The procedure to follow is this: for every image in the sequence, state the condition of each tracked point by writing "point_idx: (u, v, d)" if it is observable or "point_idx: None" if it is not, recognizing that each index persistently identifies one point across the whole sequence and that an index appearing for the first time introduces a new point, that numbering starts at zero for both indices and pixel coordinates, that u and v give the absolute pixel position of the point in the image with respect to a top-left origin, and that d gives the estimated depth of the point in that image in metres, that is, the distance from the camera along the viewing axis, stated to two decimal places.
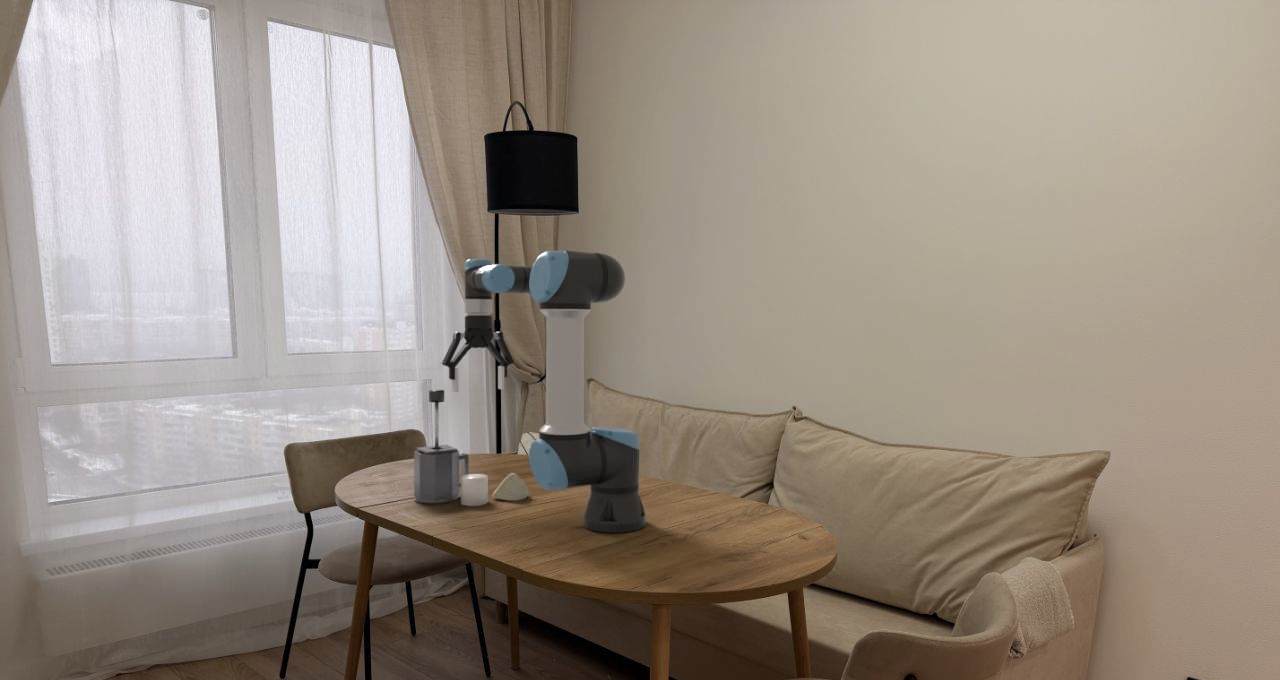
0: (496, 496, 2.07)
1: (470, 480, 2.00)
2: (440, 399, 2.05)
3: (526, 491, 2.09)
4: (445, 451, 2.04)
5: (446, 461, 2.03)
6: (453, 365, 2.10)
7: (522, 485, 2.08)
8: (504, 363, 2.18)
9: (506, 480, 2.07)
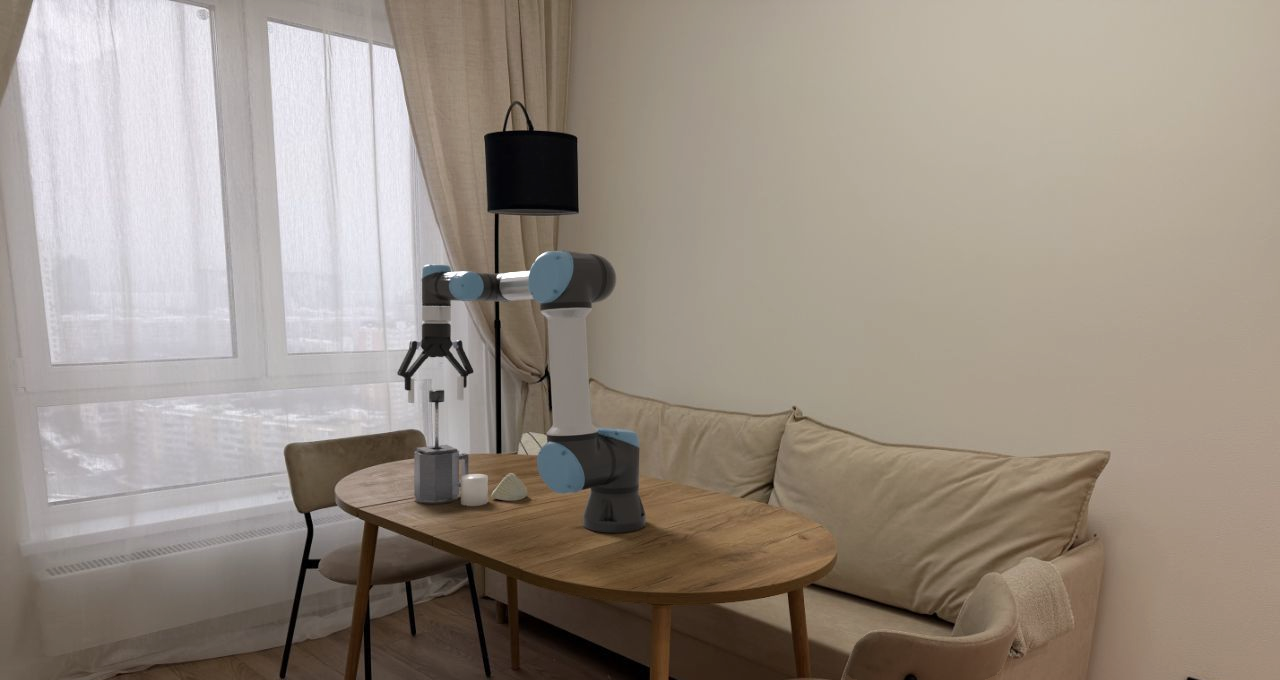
0: (495, 496, 2.06)
1: (470, 480, 2.00)
2: (440, 399, 2.05)
3: (525, 491, 2.09)
4: (445, 451, 2.04)
5: (446, 461, 2.03)
6: (409, 375, 2.01)
7: (521, 485, 2.08)
8: (463, 373, 2.09)
9: (504, 480, 2.07)
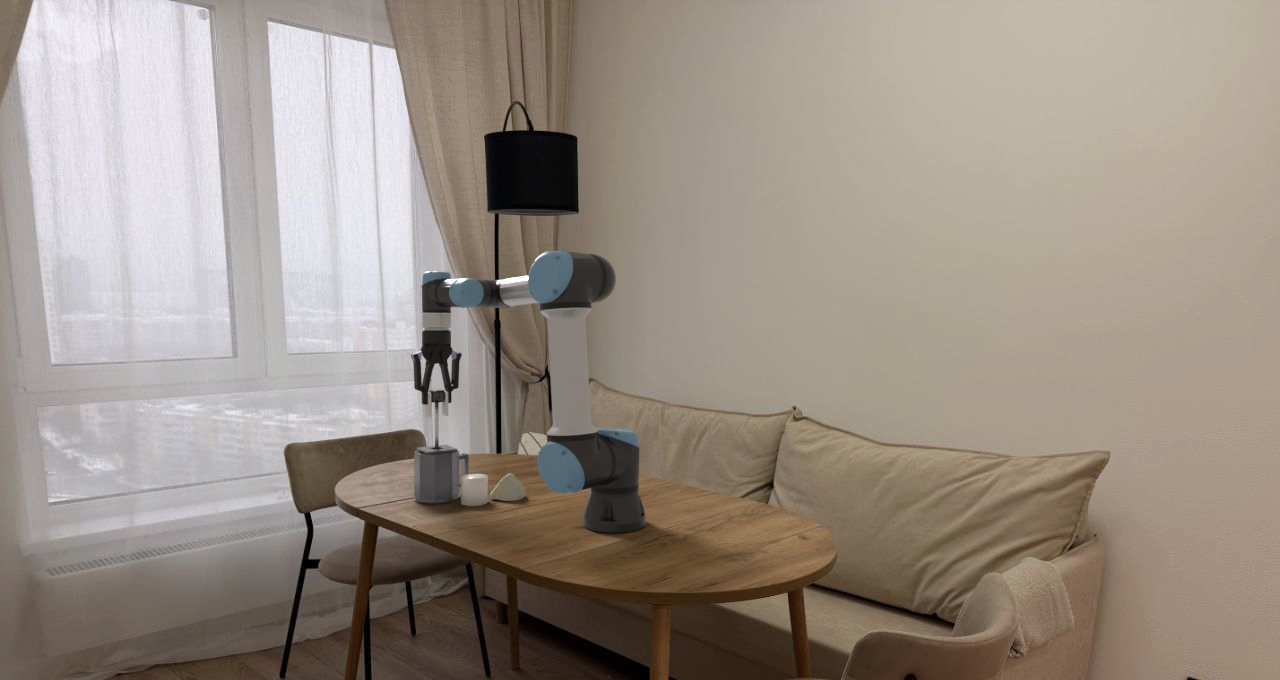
0: (493, 496, 2.06)
1: (470, 480, 2.00)
2: (440, 399, 2.05)
3: (523, 491, 2.08)
4: (445, 451, 2.04)
5: (446, 461, 2.03)
6: (426, 390, 2.03)
7: (519, 485, 2.07)
8: (448, 387, 2.07)
9: (503, 480, 2.06)
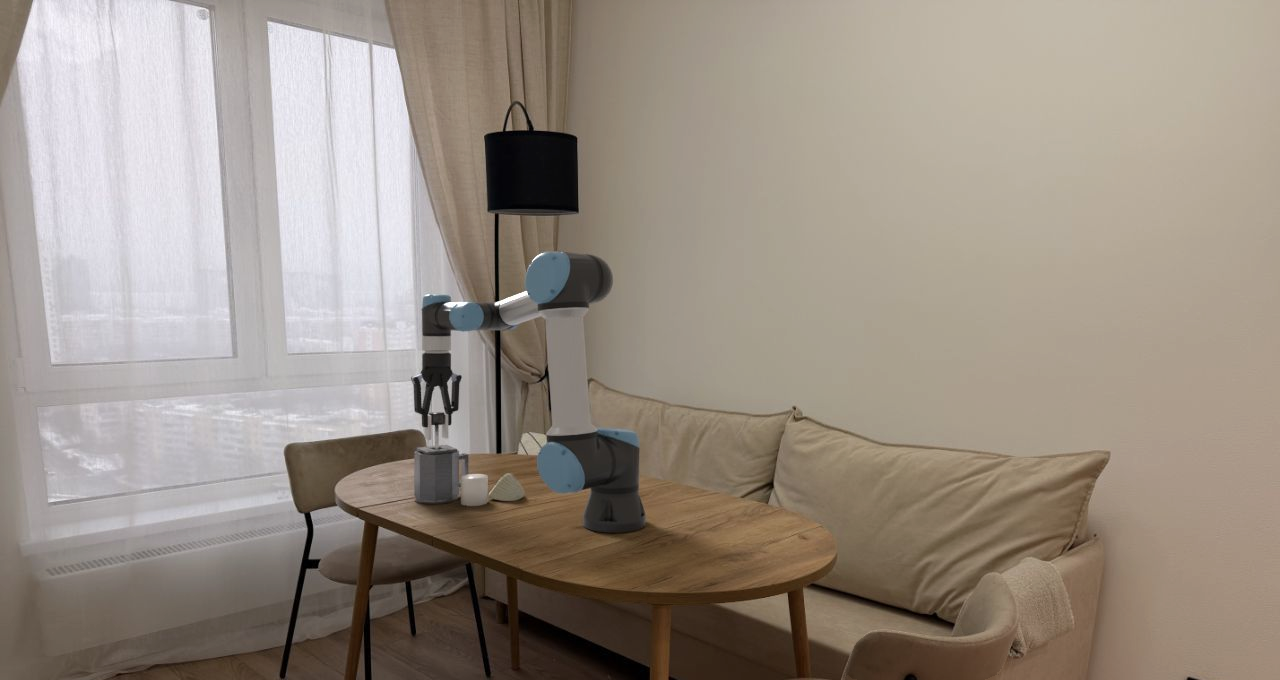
0: (492, 496, 2.06)
1: (470, 480, 2.00)
2: (440, 422, 2.05)
3: (522, 491, 2.08)
4: (445, 451, 2.04)
5: (446, 461, 2.03)
6: (426, 413, 2.04)
7: (518, 485, 2.07)
8: (448, 410, 2.07)
9: (501, 480, 2.06)
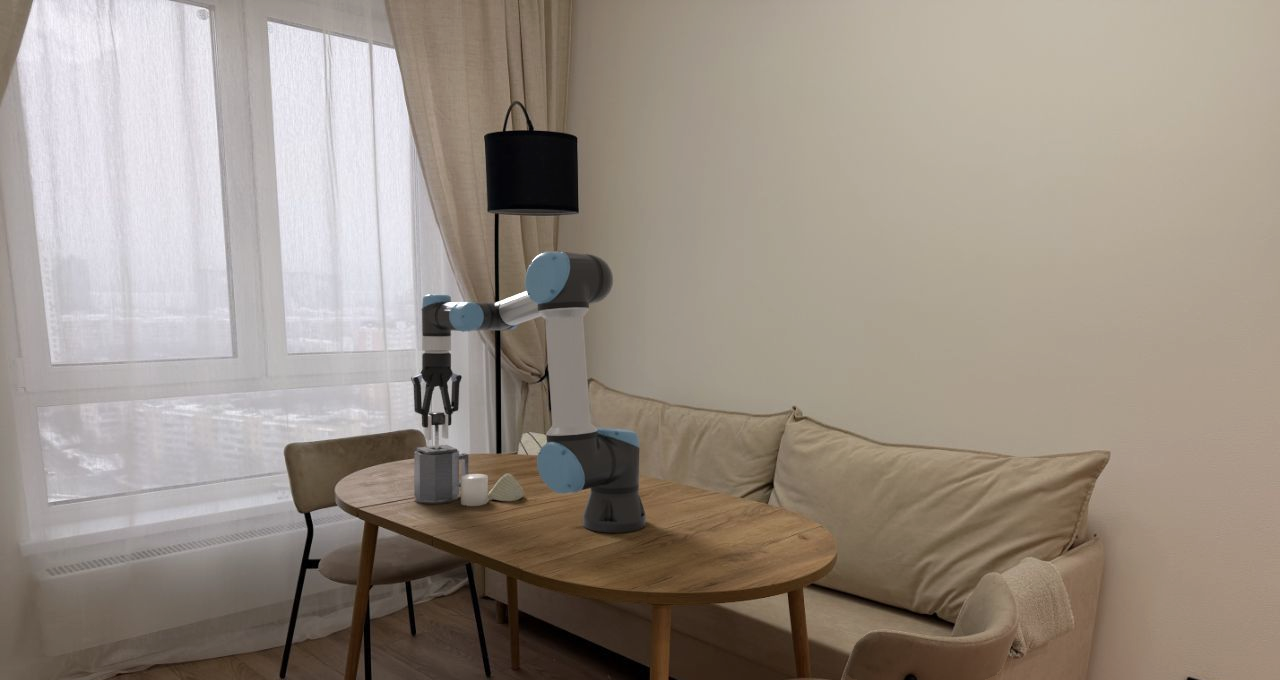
0: (491, 497, 2.06)
1: (470, 480, 2.00)
2: (440, 422, 2.05)
3: (521, 492, 2.08)
4: (445, 451, 2.04)
5: (446, 461, 2.03)
6: (426, 413, 2.04)
7: (517, 486, 2.07)
8: (448, 410, 2.07)
9: (500, 481, 2.06)
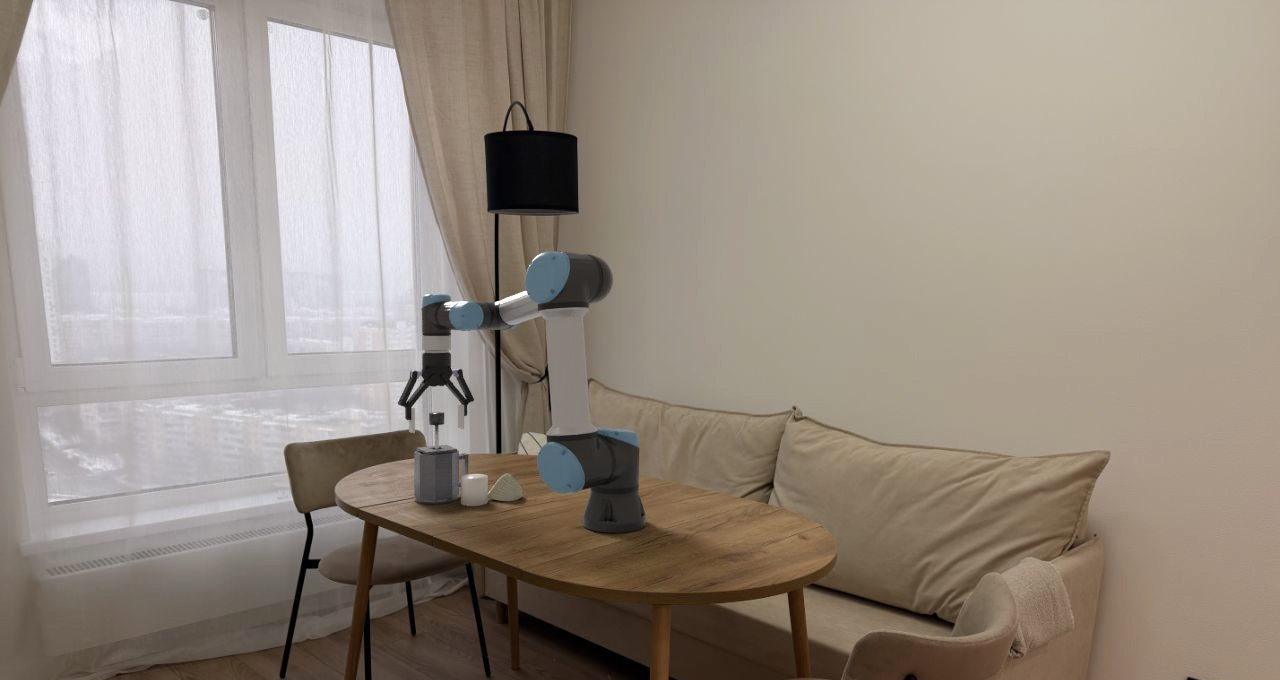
0: (490, 497, 2.06)
1: (470, 480, 2.00)
2: (440, 422, 2.05)
3: (520, 492, 2.08)
4: (445, 451, 2.04)
5: (446, 461, 2.03)
6: (409, 405, 2.01)
7: (516, 486, 2.07)
8: (464, 401, 2.10)
9: (500, 481, 2.06)
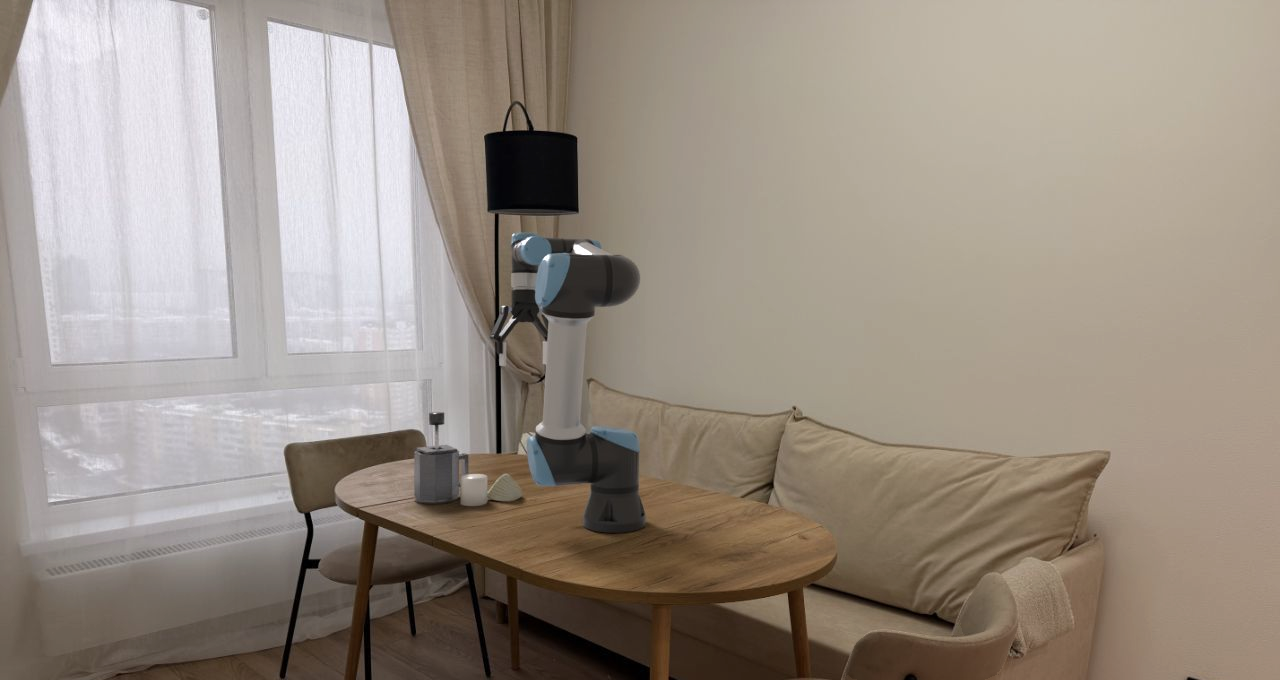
0: (489, 497, 2.06)
1: (470, 480, 2.00)
2: (440, 422, 2.05)
3: (519, 492, 2.08)
4: (445, 451, 2.04)
5: (446, 461, 2.03)
6: (501, 339, 2.08)
7: (515, 486, 2.07)
8: None
9: (499, 481, 2.06)
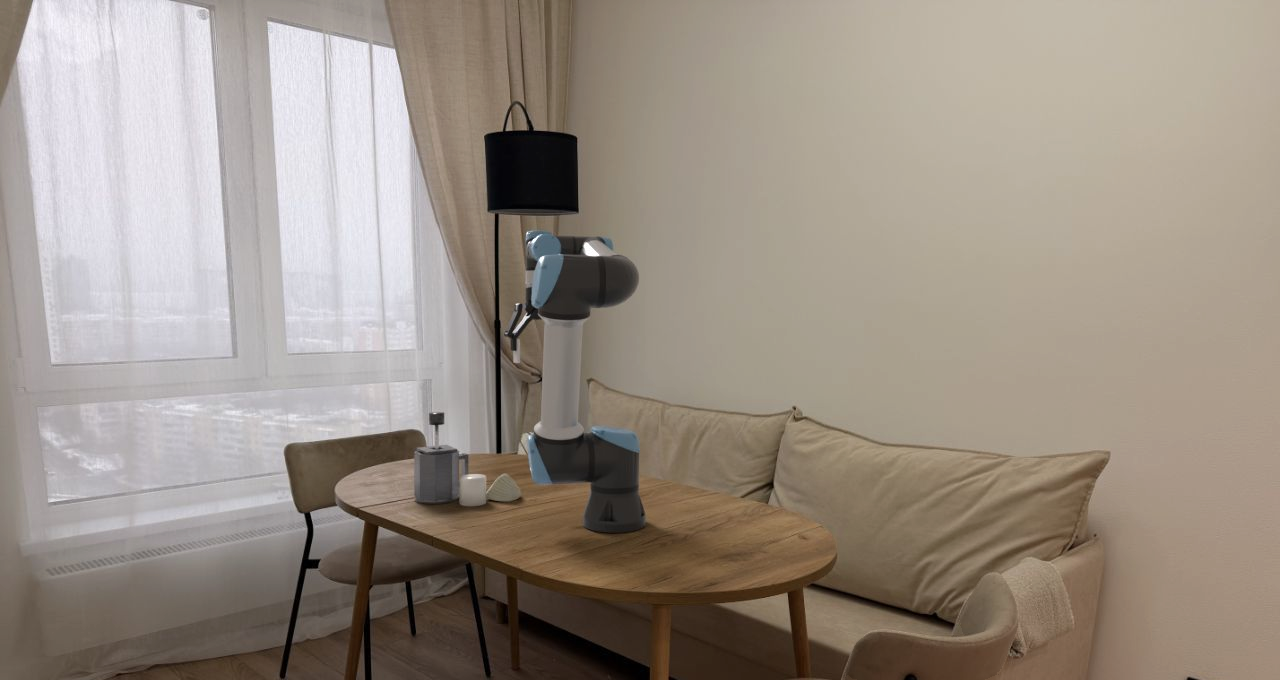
0: (488, 497, 2.06)
1: (469, 480, 2.00)
2: (440, 422, 2.05)
3: (518, 492, 2.08)
4: (445, 451, 2.04)
5: (446, 461, 2.03)
6: (515, 336, 2.10)
7: (514, 486, 2.07)
8: None
9: (497, 481, 2.06)
